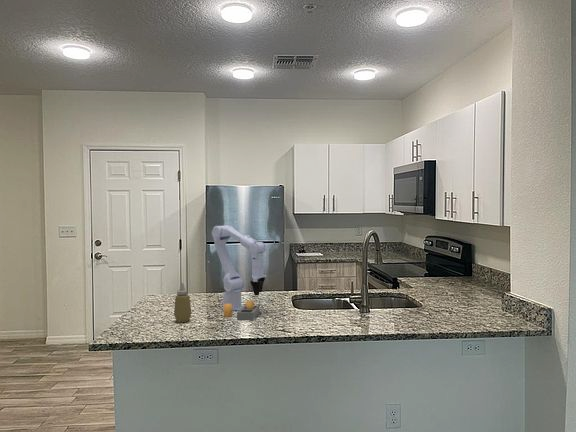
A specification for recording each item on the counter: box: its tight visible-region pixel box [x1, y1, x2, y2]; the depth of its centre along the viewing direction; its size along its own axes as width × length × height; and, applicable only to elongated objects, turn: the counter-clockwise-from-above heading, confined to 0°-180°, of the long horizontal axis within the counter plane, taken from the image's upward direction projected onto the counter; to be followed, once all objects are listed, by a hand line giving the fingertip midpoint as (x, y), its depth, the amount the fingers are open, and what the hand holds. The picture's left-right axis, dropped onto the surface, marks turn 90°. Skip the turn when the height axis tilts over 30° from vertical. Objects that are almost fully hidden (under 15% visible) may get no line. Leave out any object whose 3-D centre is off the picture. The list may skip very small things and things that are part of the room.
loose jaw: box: [223, 303, 233, 319], centre depth 222 cm, size 4×4×6 cm
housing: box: [236, 300, 261, 321], centre depth 221 cm, size 8×14×6 cm, turn 172°
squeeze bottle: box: [173, 282, 192, 323], centre depth 214 cm, size 8×8×18 cm
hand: (258, 293), depth 227 cm, fingers open, 7 cm apart
